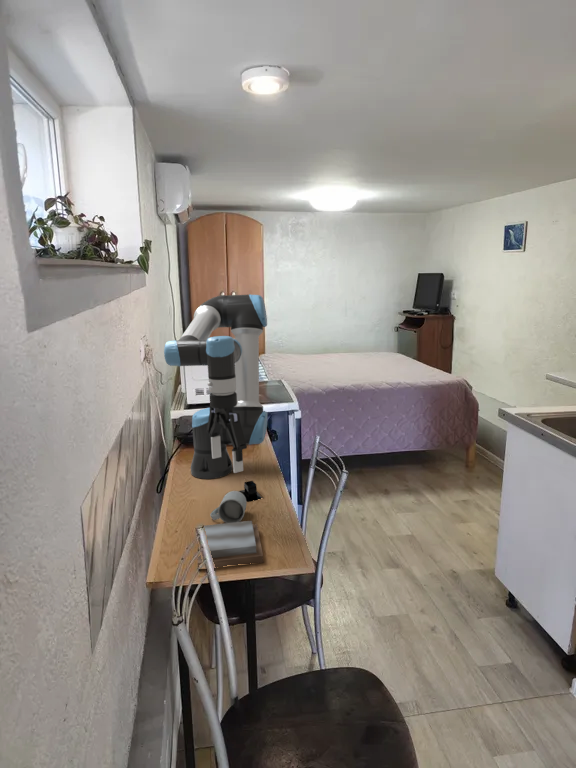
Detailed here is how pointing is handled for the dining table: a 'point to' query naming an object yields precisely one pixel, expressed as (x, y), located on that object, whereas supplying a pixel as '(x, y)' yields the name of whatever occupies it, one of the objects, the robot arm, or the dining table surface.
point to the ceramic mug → (231, 508)
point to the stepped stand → (234, 543)
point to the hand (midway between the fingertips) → (227, 464)
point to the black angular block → (250, 491)
